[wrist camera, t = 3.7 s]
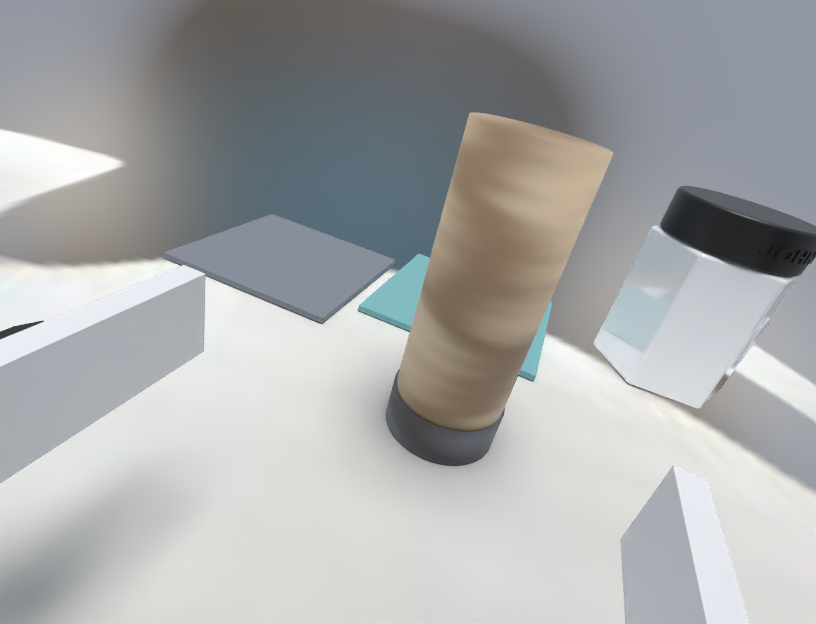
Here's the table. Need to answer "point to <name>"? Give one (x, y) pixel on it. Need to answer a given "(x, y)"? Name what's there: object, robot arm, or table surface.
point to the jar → (702, 293)
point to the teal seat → (401, 301)
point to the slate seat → (286, 265)
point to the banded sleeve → (489, 281)
